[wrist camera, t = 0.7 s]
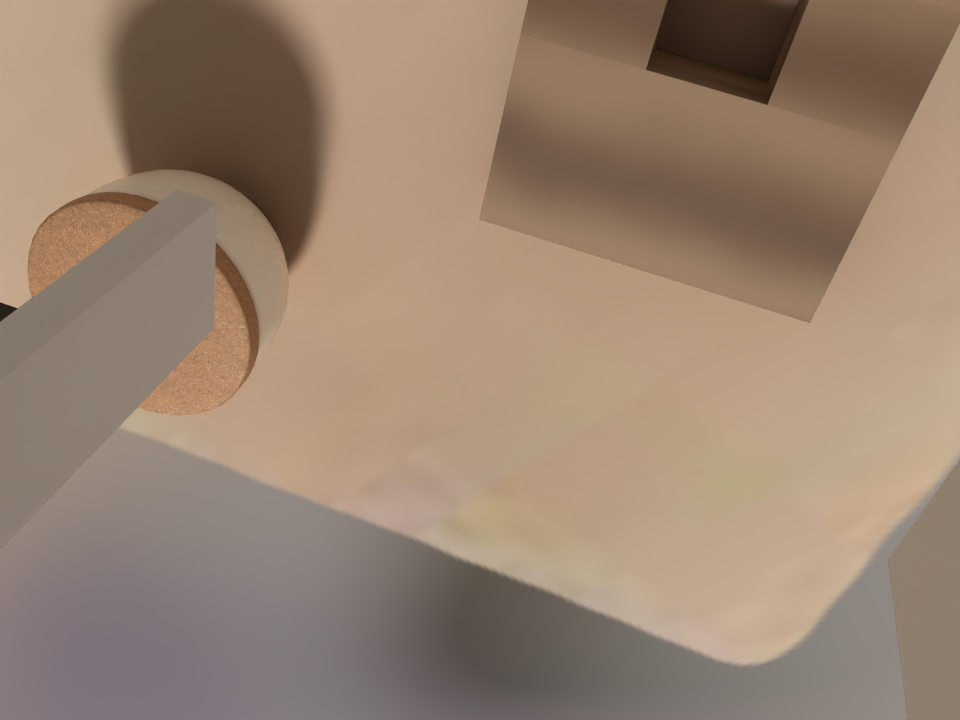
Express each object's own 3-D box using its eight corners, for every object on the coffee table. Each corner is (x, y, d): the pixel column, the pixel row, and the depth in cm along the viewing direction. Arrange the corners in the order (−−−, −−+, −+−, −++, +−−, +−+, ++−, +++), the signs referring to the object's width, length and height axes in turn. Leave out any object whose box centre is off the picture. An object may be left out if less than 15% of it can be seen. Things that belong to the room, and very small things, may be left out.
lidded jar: (194, 89, 42) (65, 162, 34) (364, 255, 44) (278, 358, 37) (92, 227, 48) (-37, 315, 40) (247, 367, 50) (152, 475, 42)
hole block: (629, -377, 29) (615, -390, 26) (1079, -270, 27) (1108, -273, 25) (497, 192, 40) (479, 219, 38) (808, 288, 39) (810, 323, 37)
